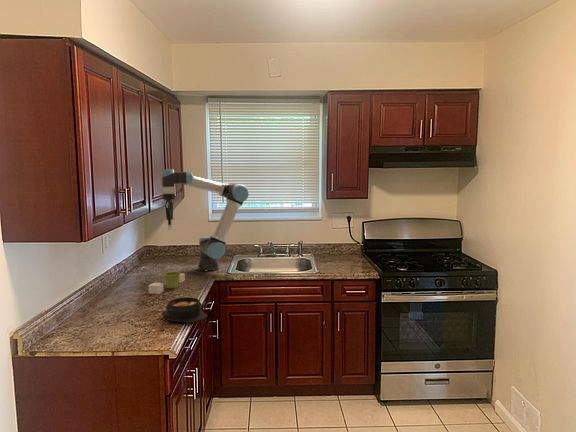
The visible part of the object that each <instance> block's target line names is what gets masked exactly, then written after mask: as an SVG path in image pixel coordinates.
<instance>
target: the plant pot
mask: <svg viewBox="0 0 576 432" xmlns="http://www.w3.org/2000/svg"><path fill="white" fill-rule="evenodd" d="M179 274H180V272H179V271H168V272H165V273H163V275H164V278H165V281H166V283H165V284H166V288H168V289H177V288H178V287H179V286H178V285H179V283H178V279H179Z"/></svg>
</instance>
